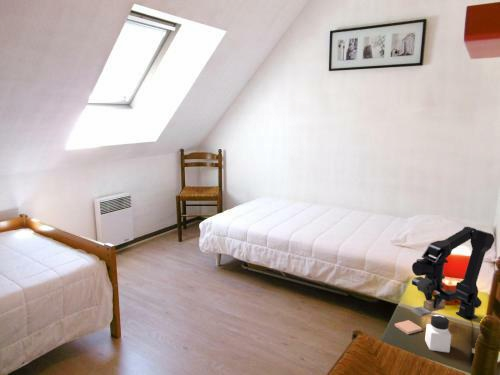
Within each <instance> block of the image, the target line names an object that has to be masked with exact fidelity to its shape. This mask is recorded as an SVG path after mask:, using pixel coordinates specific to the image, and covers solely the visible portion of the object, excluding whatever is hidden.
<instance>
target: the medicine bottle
mask: <svg viewBox="0 0 500 375" xmlns="http://www.w3.org/2000/svg"><path fill="white" fill-rule="evenodd" d="M449 324H450V320H449V318H447V317H446V316H444V315H440V314H433V315H432V316H431V318H430V323H426V327H425V328H426V329H425V334H424V335H425V337H424V340H425V343H426V345H427V347H428V350H430V351H433V352H435V351H436V352H442V353H450V351H451V344H452V338H453V337H452V333H451V332H450V331H449Z"/></svg>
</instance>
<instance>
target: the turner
mask: <svg viewBox="0 0 500 375" xmlns="http://www.w3.org/2000/svg"><path fill="white" fill-rule="evenodd" d="M446 302H447V301H445V300H442V301H441V303H440V304H439V305H438V307H437V308H436V309H434V298H432V299H430V300H426V299H425V300H424V301H423V305H422V306H418V307H414V308H410V309H411V310H410V311H411V312H412V313H413V314H416V315H417V316H418V317H419V316H420V317H424V316H428V315H431V314H432V312H436V311H441V310H444V309H446Z"/></svg>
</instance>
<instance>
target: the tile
mask: <svg viewBox="0 0 500 375" xmlns="http://www.w3.org/2000/svg"><path fill="white" fill-rule="evenodd" d="M394 327H396V328H397V329H398V330H400V331H402V332H403V333H405V334H406V335H410V334H413V333H418V332H422V330H423V328H422V327H421V326H419V325H418V324H416V323H415V322H413V321H411V320H409V319H408V320H404V321H399V322H396V323H394Z"/></svg>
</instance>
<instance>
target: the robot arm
mask: <svg viewBox="0 0 500 375" xmlns="http://www.w3.org/2000/svg"><path fill="white" fill-rule="evenodd" d="M468 241H470V246H471V249H472V250H471V252H470V256H469V259H468V263H467V266H466V270H465V274H464V277H463V279H462V280H461V281H460V282H459V281H457V282H456V285H455V288H454V290H451V289H443V288H444V287H445V286H444V284H443V280H444V279H445V278H446V276H445V275H444V269H445V264H448V263H449V260H447V258H448V257H449V256H450V255H452V251H453V250H454V249H457V248H458V247H459V246H461V245H463V244H465V243H467V242H468ZM494 243H495V237H494V235H493V233H491V232H487V231H483V230H481V229H477V228H475V227H470V226H464V227H463V228H462V229H461V230H459V231H457V232H456V233H455V234H452V235H450V236H449V237H448V238H445V239H444V240H443V239H442V240H436V241H433V242H430V243H429V245H428V246H427V247H426V249H425V251H424V252H423V254H422V255H421V258H417V259H416V261H415V262H413V263H412V265H411V269H412V270H411V271H412V272H413V274H414V275H416V276H417V277H413V278H412V280H411V285H413V286H414V287H416V288H417V290H418V291H419V292H421V293H422V294H424V297H425V301H426V300H430V299H434V309H436V308H437V307H438V305H439V304H440V303H441V301H442V300H445V301H446V302H452V301H457V300H458V301H460V302H459V309H458V311H456V312H455V314H456V315H458V316H459V317H461V318H464V319H466V320H469V321H470V320H474V319H478V318H479V317H478V315H476V314H475V312H476V309H478V308H479V307H481V306H482V303H483V302H482V300H481V299H480V298H479V297H478V294H479V289H478V286H477V282H478V278H479V275H480V272H481V269H482V265H483V262H484V259H485V255H486V253H487V252H488V251H489V250H491V249H492V247H493V245H494ZM422 276H423V277H422ZM434 292H436V293H435V294H434Z"/></svg>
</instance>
